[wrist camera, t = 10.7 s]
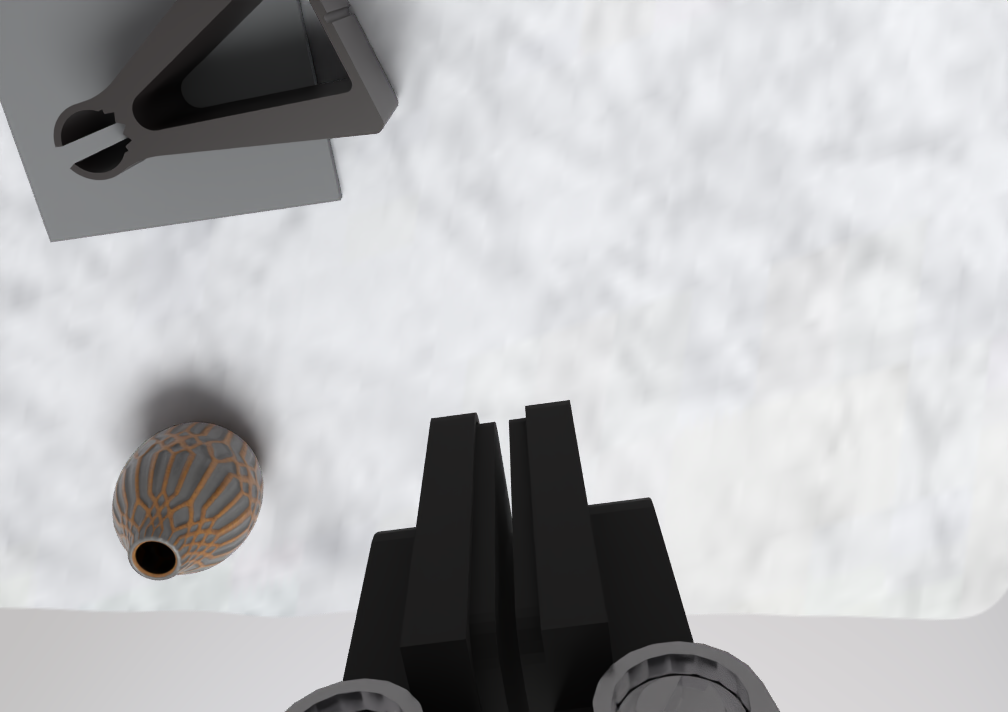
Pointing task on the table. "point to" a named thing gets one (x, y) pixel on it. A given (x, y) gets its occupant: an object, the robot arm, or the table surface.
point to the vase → (186, 500)
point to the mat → (153, 182)
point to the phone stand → (244, 123)
